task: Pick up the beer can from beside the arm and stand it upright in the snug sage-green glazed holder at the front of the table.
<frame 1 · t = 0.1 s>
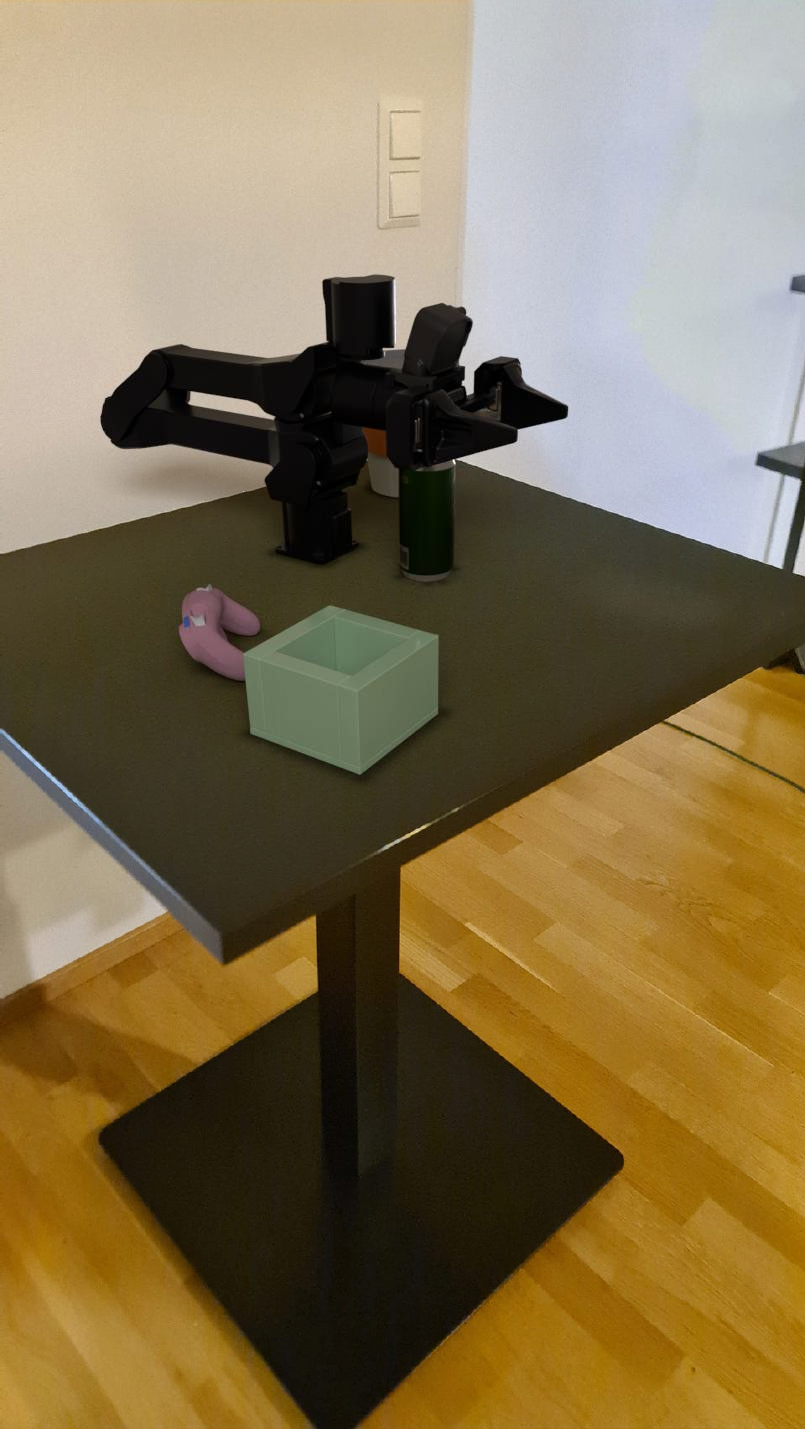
hand: (543, 423, 86), 17 cm above the table, tool horizontal, fingers open, 9 cm apart
holder: (345, 723, 76), on the table
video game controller: (224, 660, 86), on the table
reusable coffee cup: (408, 487, 125), on the table
beer can: (426, 574, 101), on the table
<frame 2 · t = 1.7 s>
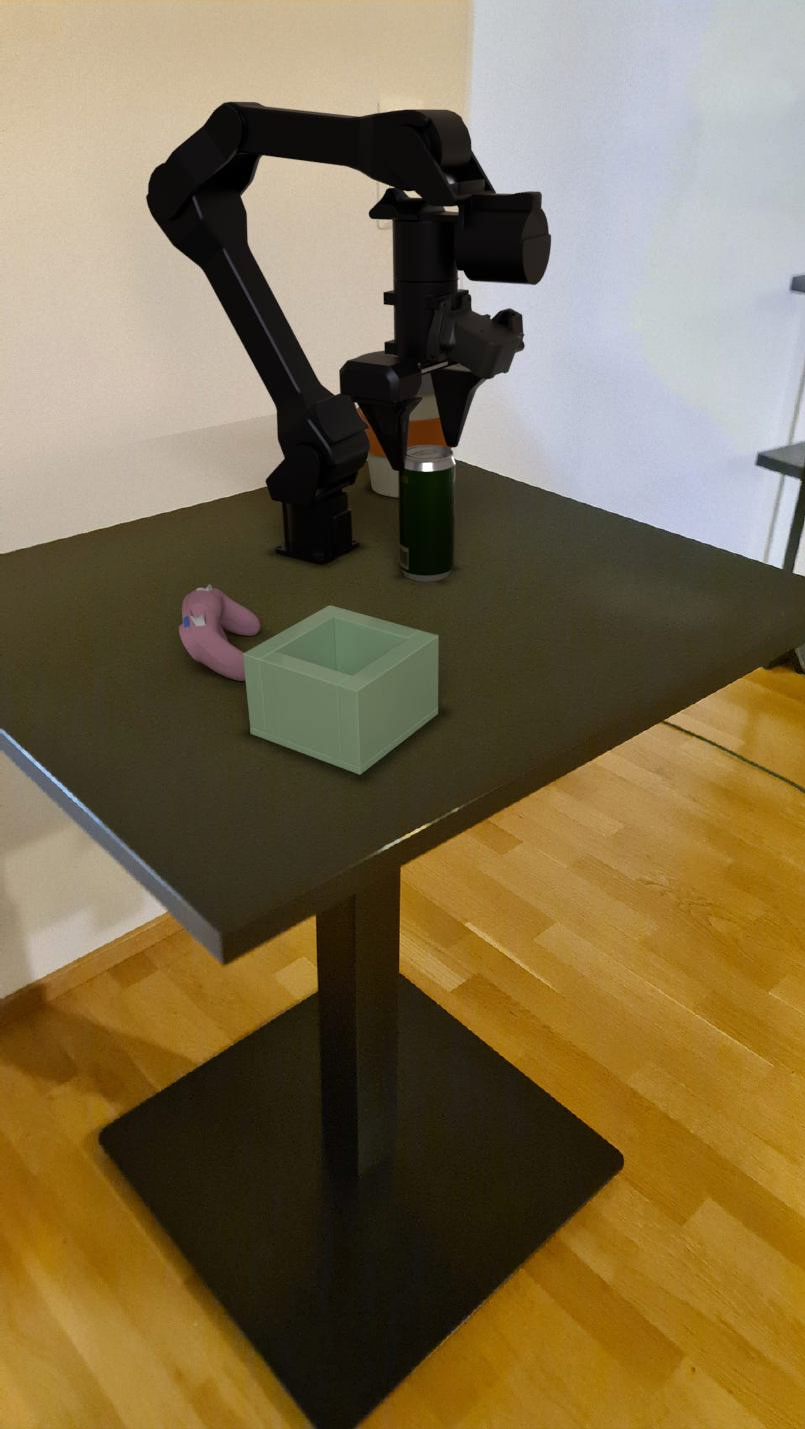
hand: (426, 458, 96), 11 cm above the table, tool pointing down, fingers open, 9 cm apart
nothing on the table moved.
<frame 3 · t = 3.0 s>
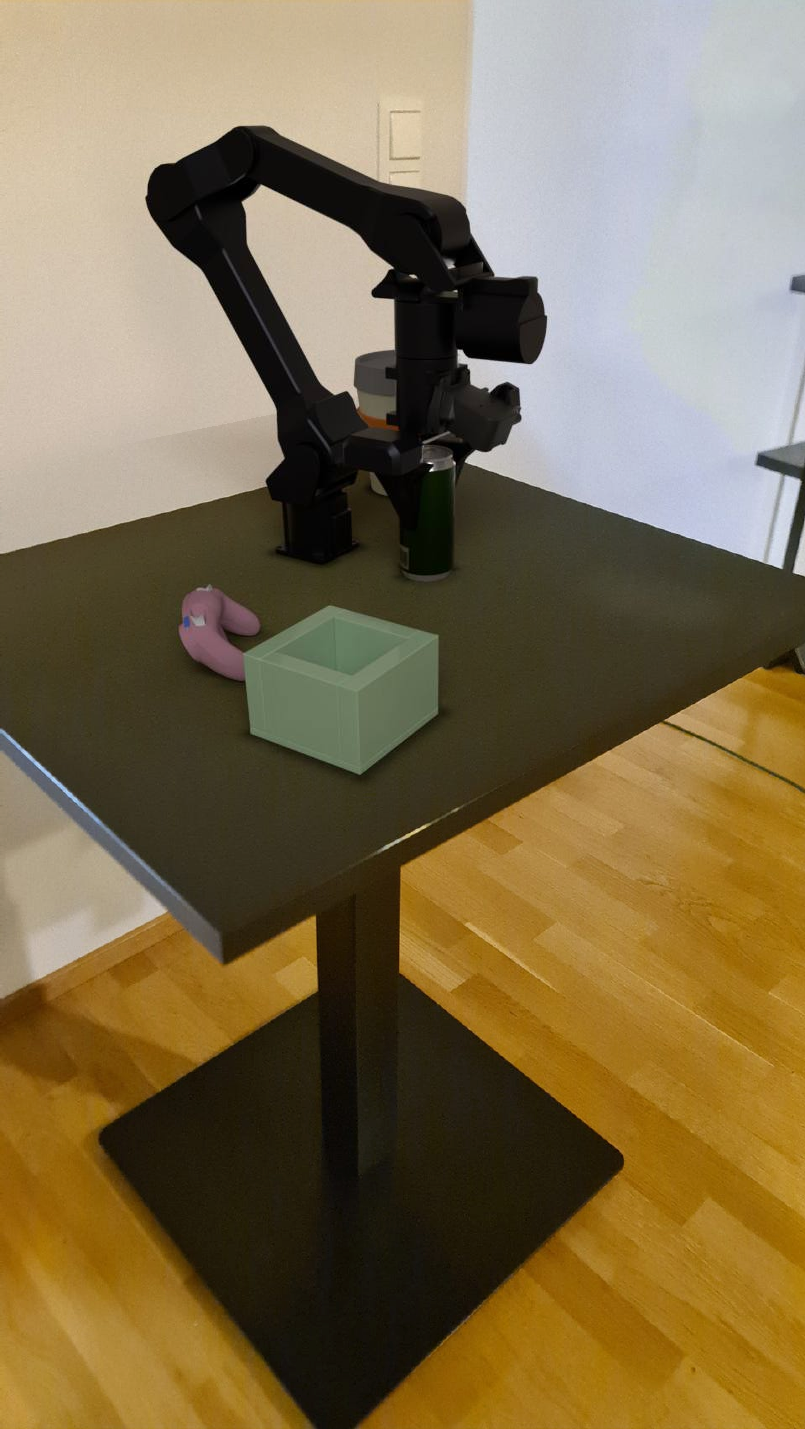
hand: (426, 522, 99), 5 cm above the table, tool pointing down, fingers closed on beer can, 5 cm apart
beer can: (426, 574, 101), on the table, touching gripper
everything else where it was.
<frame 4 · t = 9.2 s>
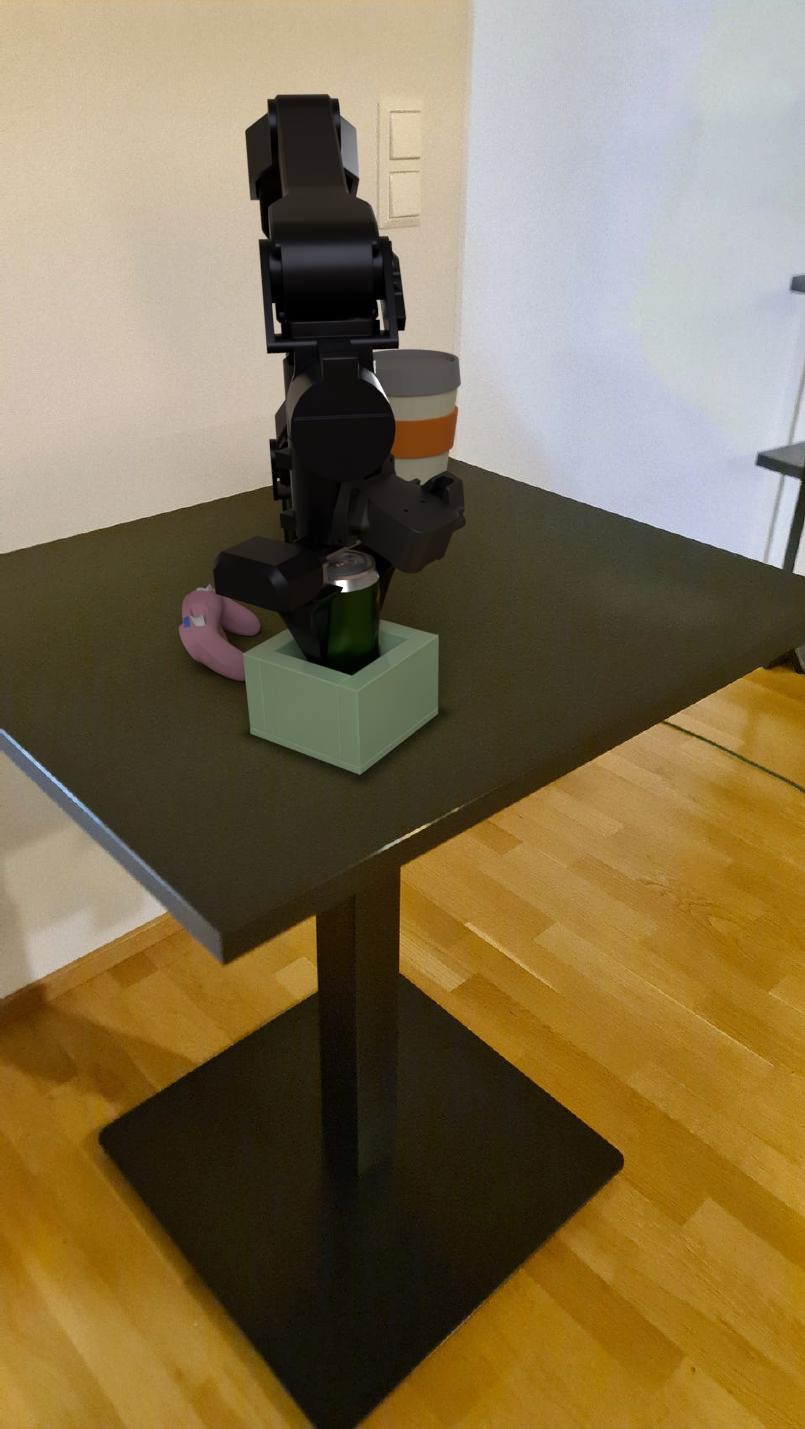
hand: (342, 652, 73), 6 cm above the table, tool pointing down, fingers closed on beer can, 5 cm apart
beer can: (346, 716, 76), point 1 cm above the table, touching gripper
everything else where it was.
when the fingers open (7 cm above the table, at t = 15.2 s): beer can drops 1 cm, resting on holder.
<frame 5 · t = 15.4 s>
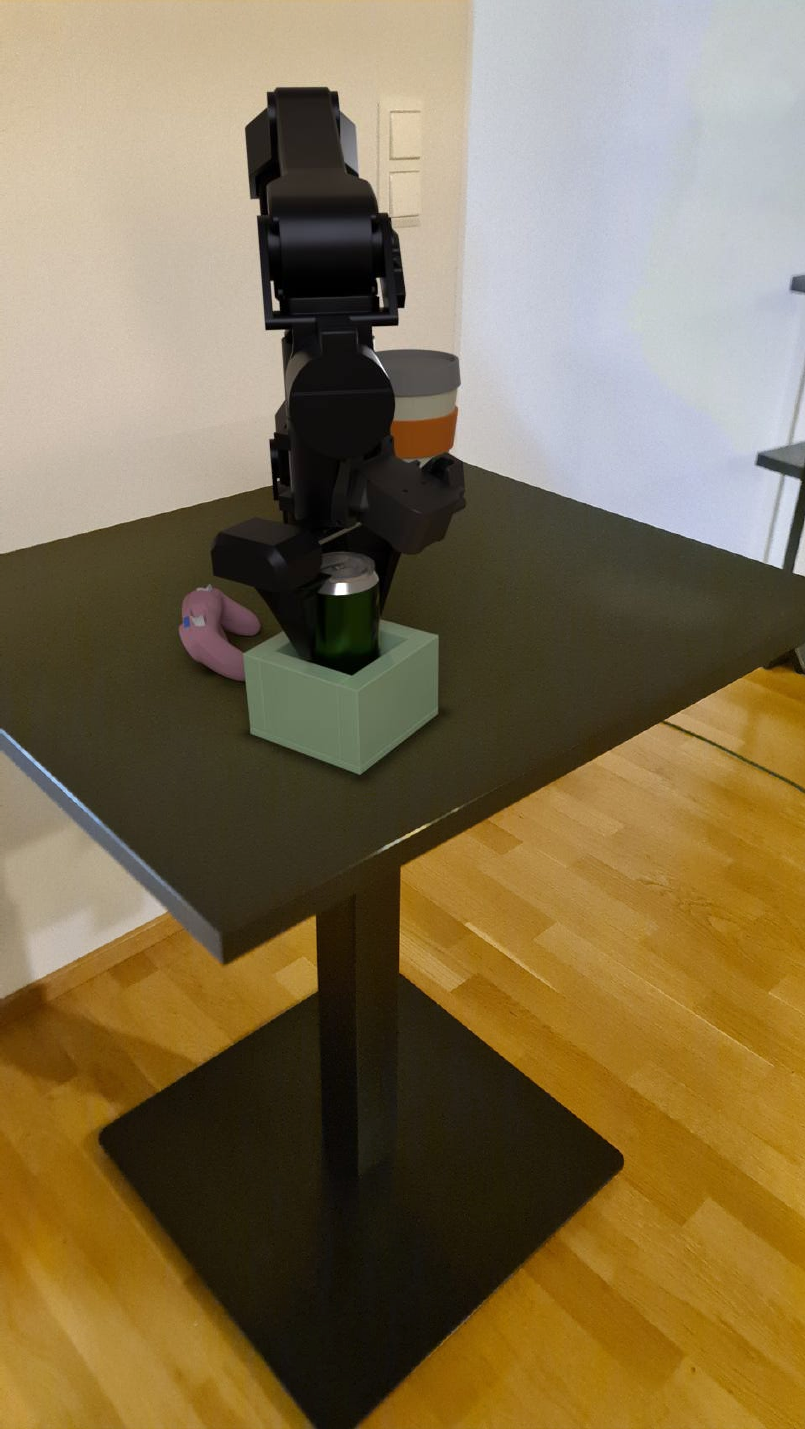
hand: (341, 637, 72), 7 cm above the table, tool pointing down, fingers open, 7 cm apart
beer can: (346, 718, 76), resting on holder
everything else where it was.
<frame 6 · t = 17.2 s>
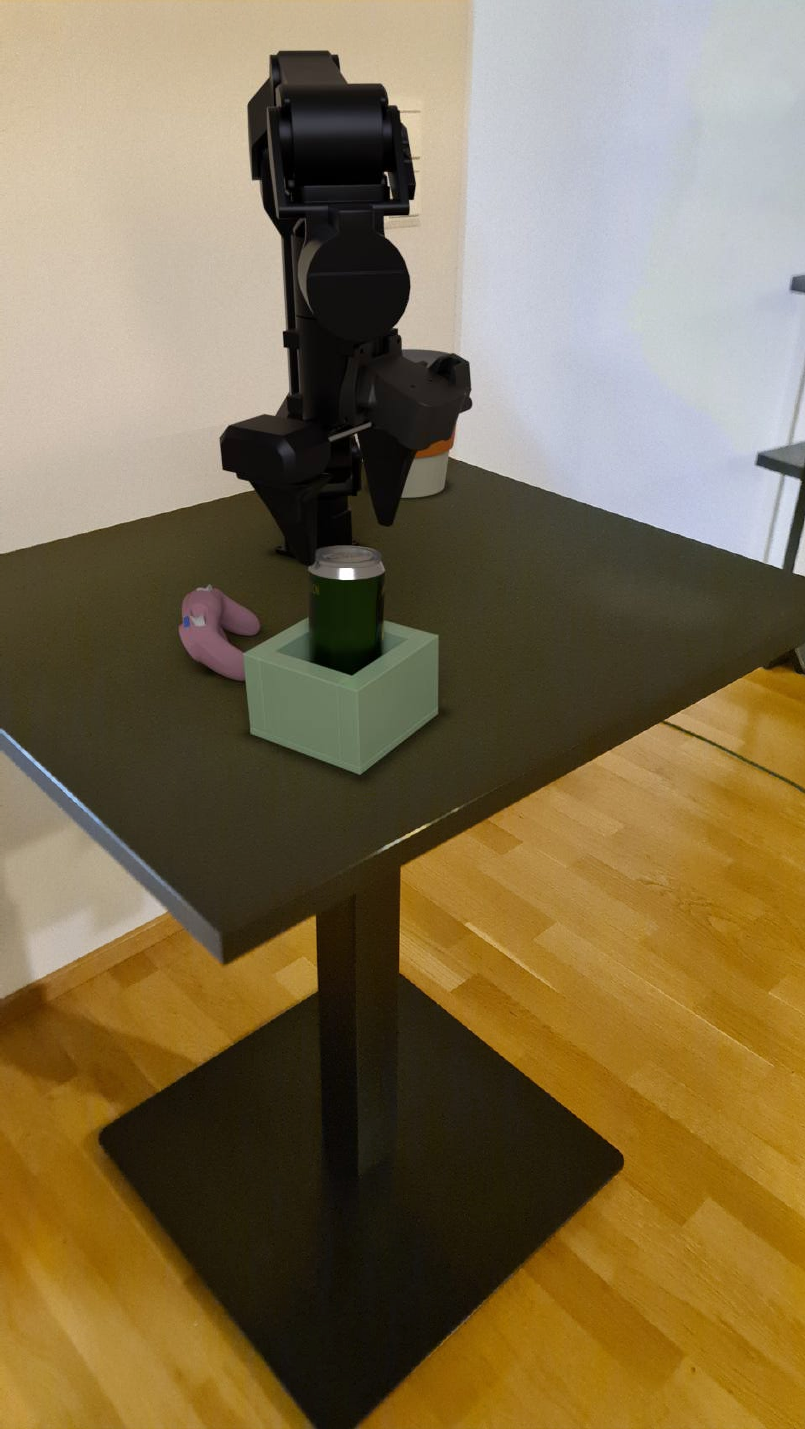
hand: (348, 544, 73), 13 cm above the table, tool pointing down, fingers open, 9 cm apart
beer can: (346, 715, 76), point 1 cm above the table, touching gripper, holder
everything else where it was.
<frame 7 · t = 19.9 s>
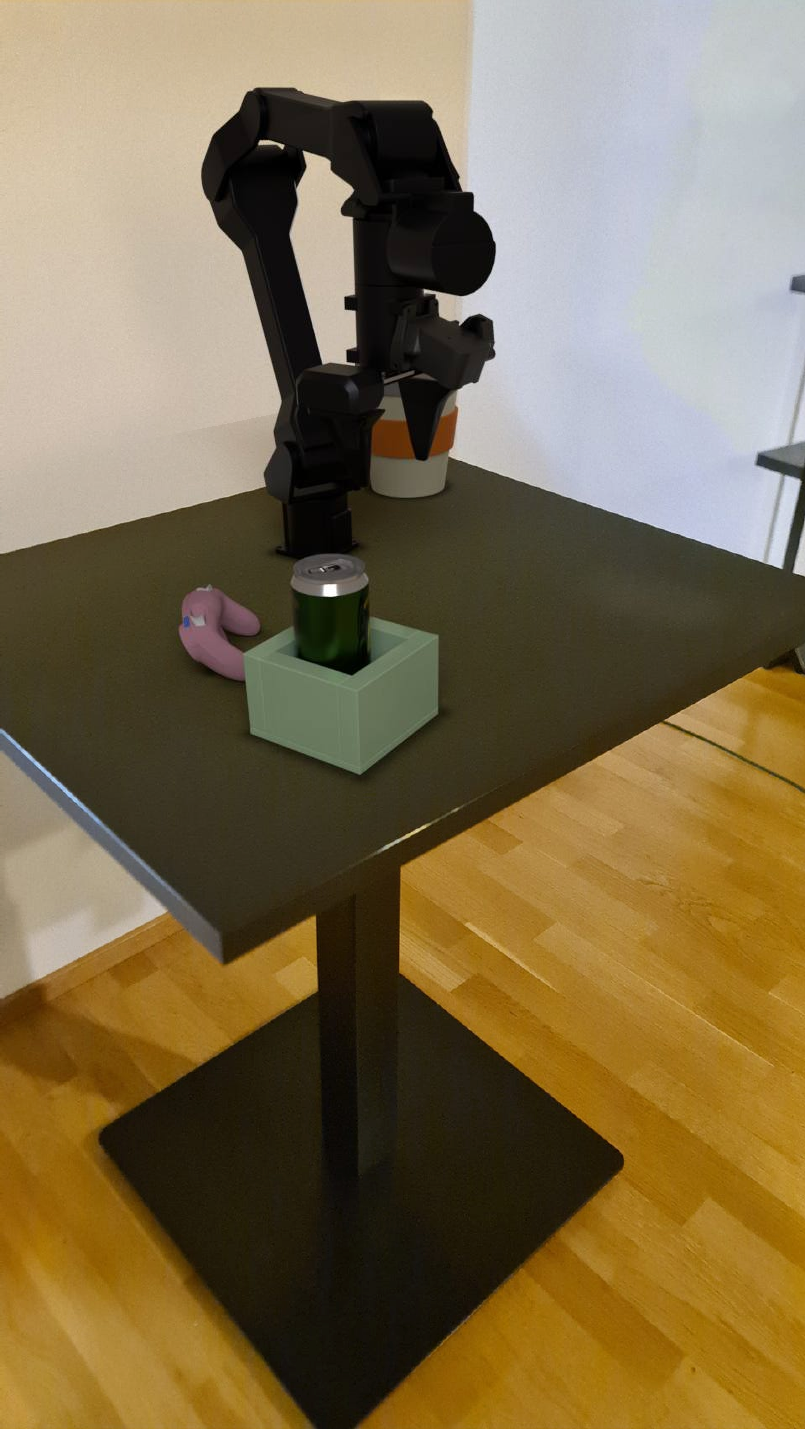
hand: (392, 473, 90), 12 cm above the table, tool pointing down, fingers open, 9 cm apart
beer can: (336, 721, 76), resting on holder
everything else where it was.
at the end: beer can 0.7 cm off-centre in the holder, point 0.4 cm above the holder's base; beer can tilted 0°; the gripper is holding nothing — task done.
